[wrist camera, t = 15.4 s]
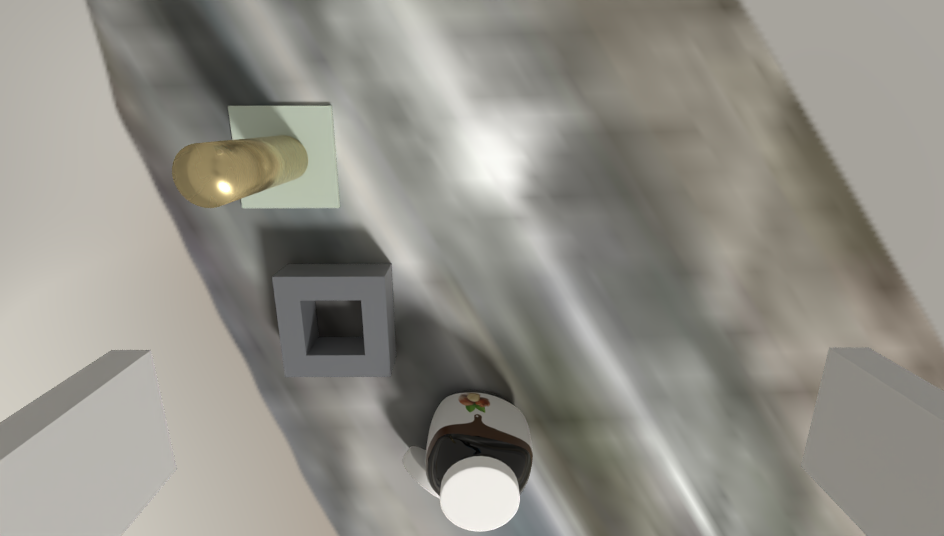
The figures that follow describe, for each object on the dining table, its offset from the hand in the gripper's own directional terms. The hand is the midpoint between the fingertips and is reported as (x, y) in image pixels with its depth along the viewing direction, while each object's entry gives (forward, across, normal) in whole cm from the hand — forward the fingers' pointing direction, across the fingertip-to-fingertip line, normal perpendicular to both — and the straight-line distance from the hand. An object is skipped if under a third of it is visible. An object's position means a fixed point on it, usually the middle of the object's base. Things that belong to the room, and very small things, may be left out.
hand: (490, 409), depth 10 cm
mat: (+37, -17, +2) cm, 40 cm away
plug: (+36, -17, +2) cm, 40 cm away
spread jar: (+37, -1, -27) cm, 46 cm away
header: (+37, -13, -13) cm, 41 cm away
